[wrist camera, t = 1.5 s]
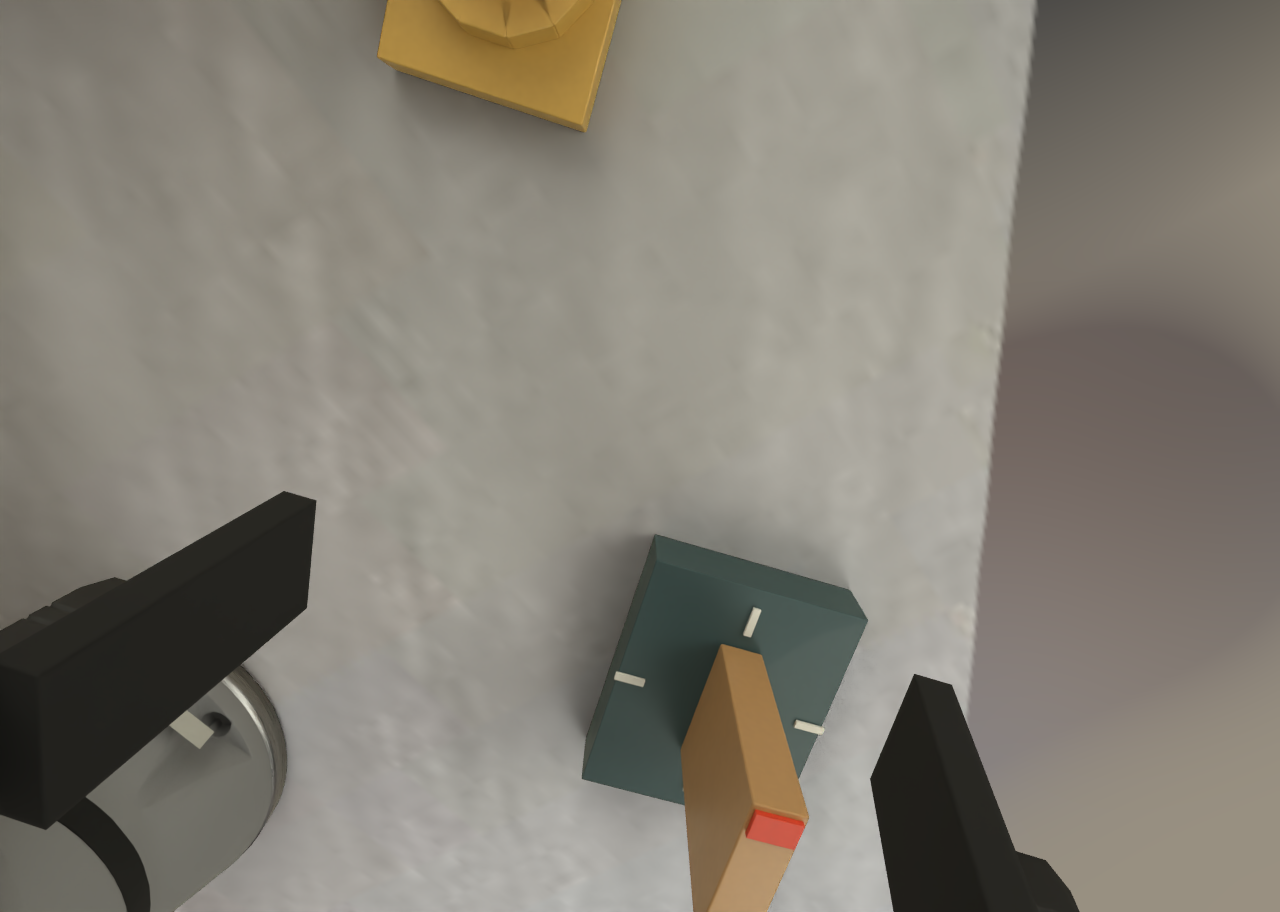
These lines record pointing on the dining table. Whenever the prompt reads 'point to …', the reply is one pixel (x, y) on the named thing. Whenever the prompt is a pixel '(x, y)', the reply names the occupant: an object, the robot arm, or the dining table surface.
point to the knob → (739, 789)
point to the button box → (506, 50)
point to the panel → (687, 647)
